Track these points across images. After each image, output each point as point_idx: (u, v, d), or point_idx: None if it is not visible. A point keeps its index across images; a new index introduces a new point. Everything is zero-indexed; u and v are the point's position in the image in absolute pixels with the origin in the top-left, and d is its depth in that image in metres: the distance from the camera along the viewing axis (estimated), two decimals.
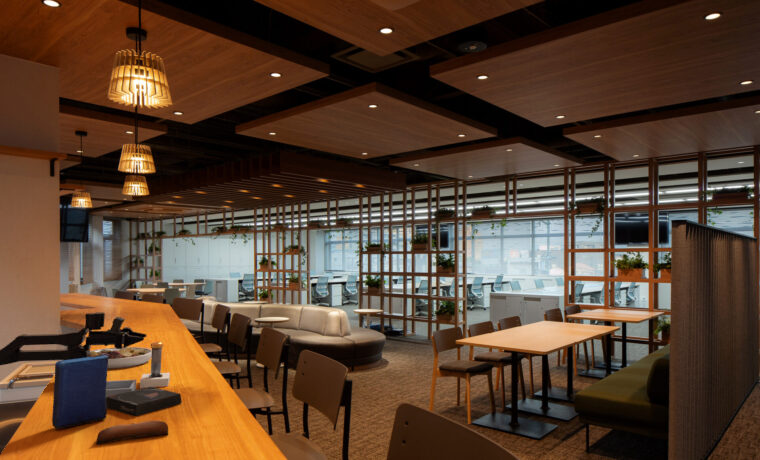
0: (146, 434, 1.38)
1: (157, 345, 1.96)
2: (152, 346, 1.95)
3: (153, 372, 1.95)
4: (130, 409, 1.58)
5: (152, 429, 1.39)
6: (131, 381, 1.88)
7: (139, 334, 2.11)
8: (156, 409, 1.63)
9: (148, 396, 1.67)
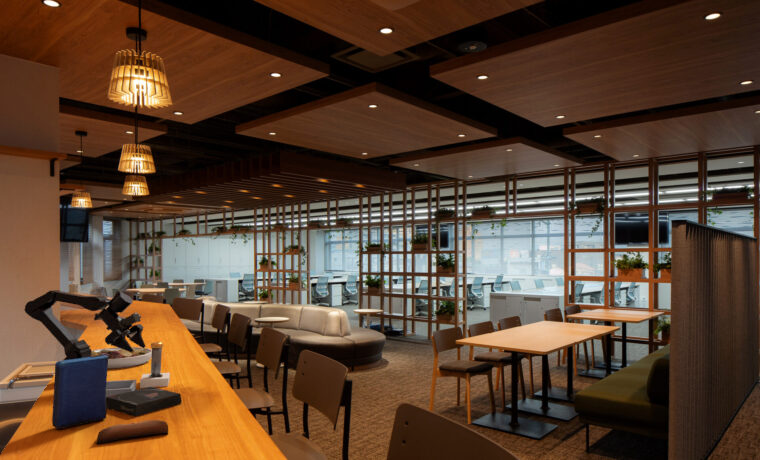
0: (146, 433, 1.39)
1: (157, 345, 1.96)
2: (152, 346, 1.95)
3: (153, 372, 1.95)
4: (130, 409, 1.58)
5: (152, 428, 1.40)
6: (131, 381, 1.88)
7: (141, 341, 2.03)
8: (156, 409, 1.63)
9: (148, 396, 1.67)
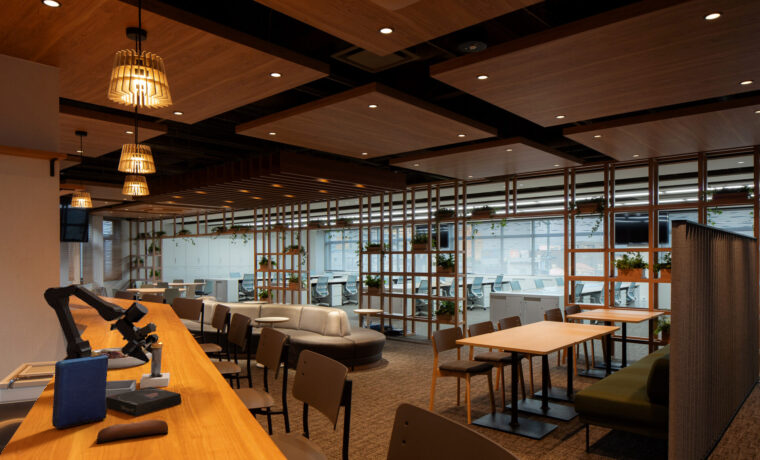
0: (146, 433, 1.39)
1: (157, 345, 1.96)
2: (152, 346, 1.95)
3: (153, 372, 1.95)
4: (130, 409, 1.58)
5: (152, 428, 1.40)
6: (131, 381, 1.88)
7: None
8: (156, 409, 1.63)
9: (148, 396, 1.67)
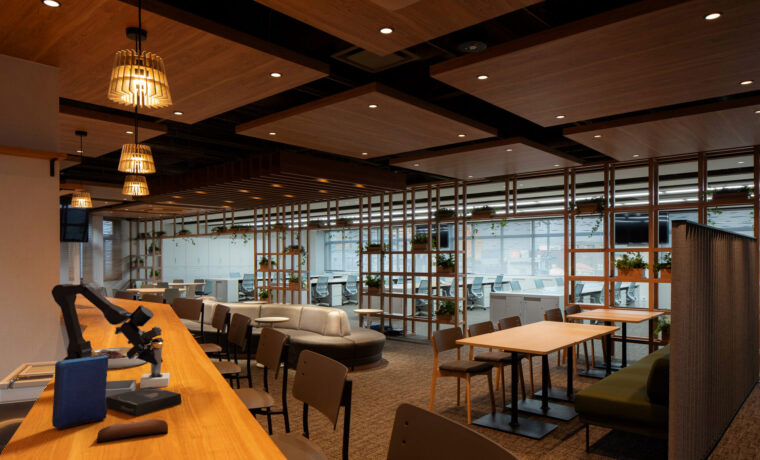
0: (146, 432, 1.39)
1: (157, 345, 1.96)
2: (152, 346, 1.95)
3: (153, 372, 1.95)
4: (130, 409, 1.58)
5: (152, 427, 1.40)
6: (131, 381, 1.88)
7: None
8: (156, 409, 1.63)
9: (148, 396, 1.67)
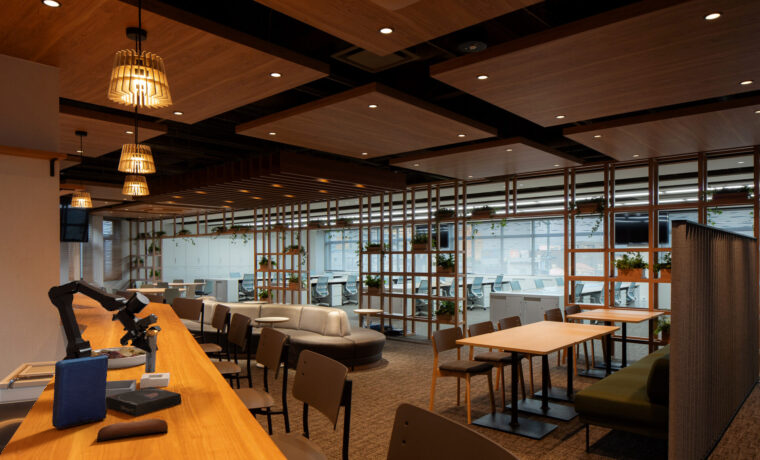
0: (146, 432, 1.40)
1: (151, 333, 1.92)
2: (147, 333, 1.93)
3: (147, 360, 1.92)
4: (130, 409, 1.58)
5: (152, 427, 1.41)
6: (131, 381, 1.88)
7: None
8: (156, 409, 1.63)
9: (148, 396, 1.67)
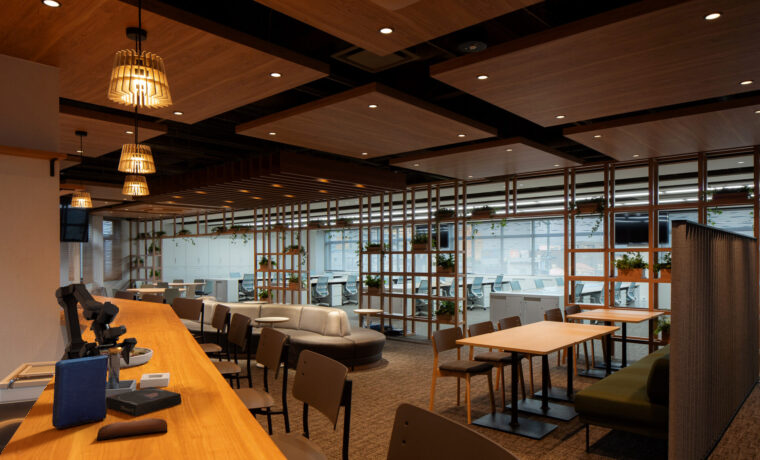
0: (145, 431, 1.40)
1: (111, 350, 1.79)
2: (108, 351, 1.80)
3: (108, 379, 1.79)
4: (130, 409, 1.58)
5: (151, 426, 1.41)
6: (131, 381, 1.88)
7: (126, 357, 1.84)
8: (156, 409, 1.63)
9: (148, 396, 1.67)
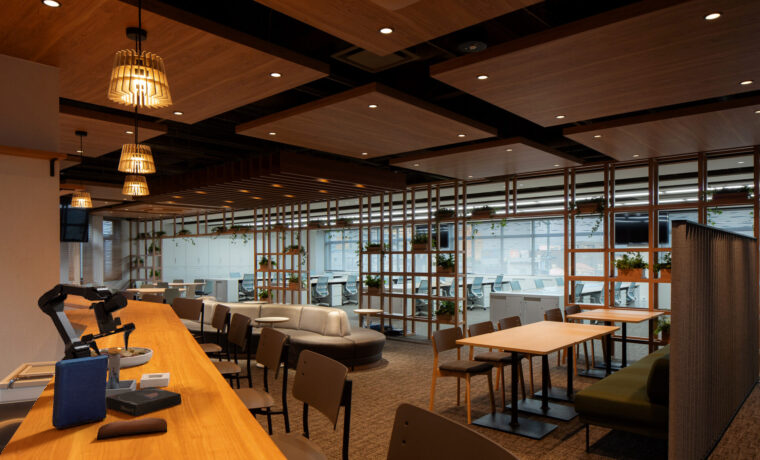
0: (145, 430, 1.41)
1: (111, 350, 1.79)
2: (108, 351, 1.80)
3: (108, 379, 1.79)
4: (130, 409, 1.58)
5: (151, 425, 1.42)
6: (131, 381, 1.88)
7: (125, 344, 1.96)
8: (156, 409, 1.63)
9: (148, 396, 1.67)
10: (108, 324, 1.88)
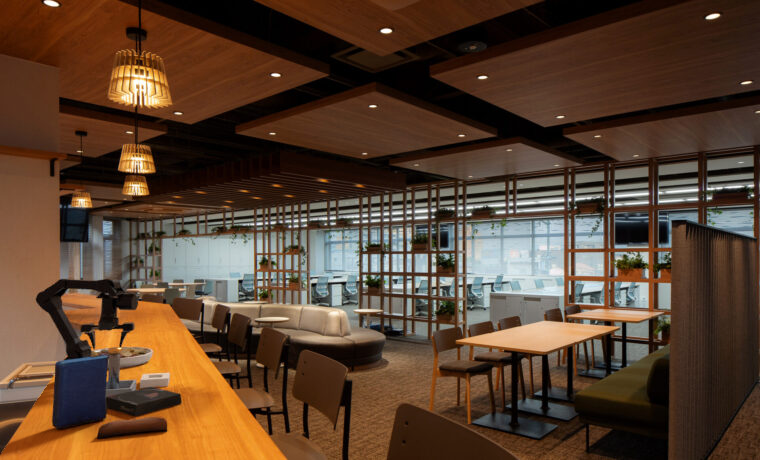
0: (145, 430, 1.41)
1: (111, 350, 1.79)
2: (108, 351, 1.80)
3: (108, 379, 1.79)
4: (130, 409, 1.58)
5: (151, 425, 1.42)
6: (131, 381, 1.88)
7: (120, 341, 2.01)
8: (156, 409, 1.63)
9: (148, 396, 1.67)
10: (104, 324, 1.92)
